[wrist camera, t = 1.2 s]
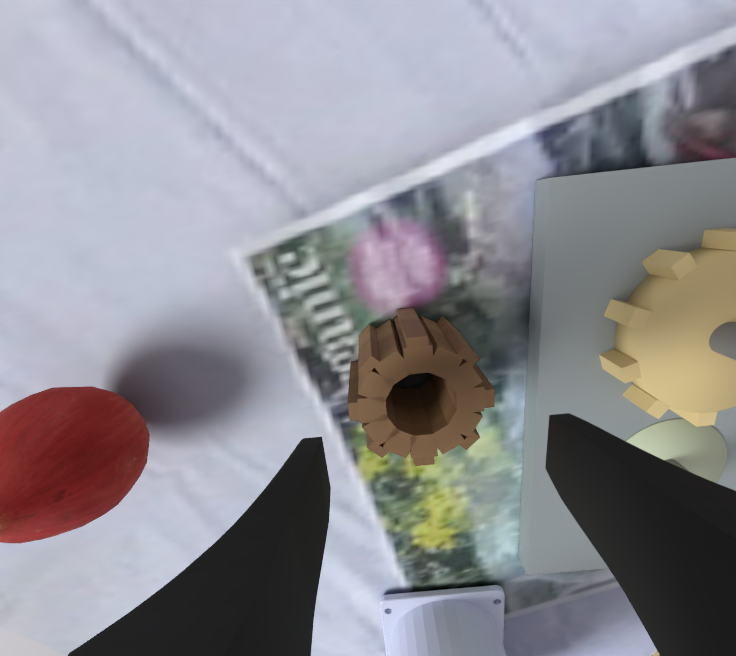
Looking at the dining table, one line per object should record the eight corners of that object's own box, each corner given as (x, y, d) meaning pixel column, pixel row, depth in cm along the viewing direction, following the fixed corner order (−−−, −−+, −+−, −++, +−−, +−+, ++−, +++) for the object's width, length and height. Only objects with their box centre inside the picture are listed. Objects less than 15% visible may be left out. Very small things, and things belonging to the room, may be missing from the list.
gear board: (743, 536, 22) (829, 609, 18) (518, 556, 22) (552, 633, 18) (868, 144, 15) (1055, 119, 11) (535, 180, 15) (598, 169, 11)
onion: (172, 466, 19) (50, 629, 12) (63, 440, 19) (-138, 594, 11) (188, 376, 18) (58, 499, 10) (69, 344, 17) (-164, 449, 10)
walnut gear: (466, 407, 19) (493, 458, 15) (358, 418, 19) (356, 471, 15) (465, 302, 17) (495, 329, 13) (344, 314, 17) (339, 344, 13)
